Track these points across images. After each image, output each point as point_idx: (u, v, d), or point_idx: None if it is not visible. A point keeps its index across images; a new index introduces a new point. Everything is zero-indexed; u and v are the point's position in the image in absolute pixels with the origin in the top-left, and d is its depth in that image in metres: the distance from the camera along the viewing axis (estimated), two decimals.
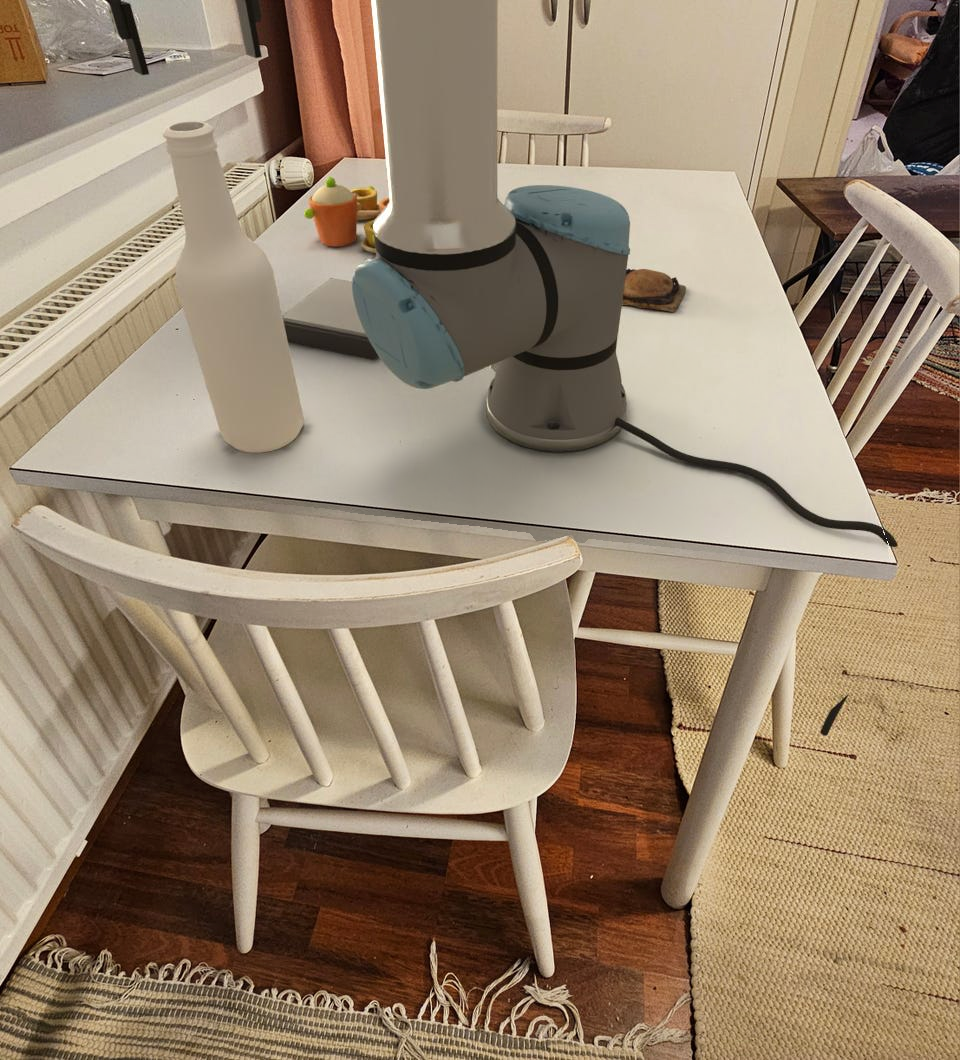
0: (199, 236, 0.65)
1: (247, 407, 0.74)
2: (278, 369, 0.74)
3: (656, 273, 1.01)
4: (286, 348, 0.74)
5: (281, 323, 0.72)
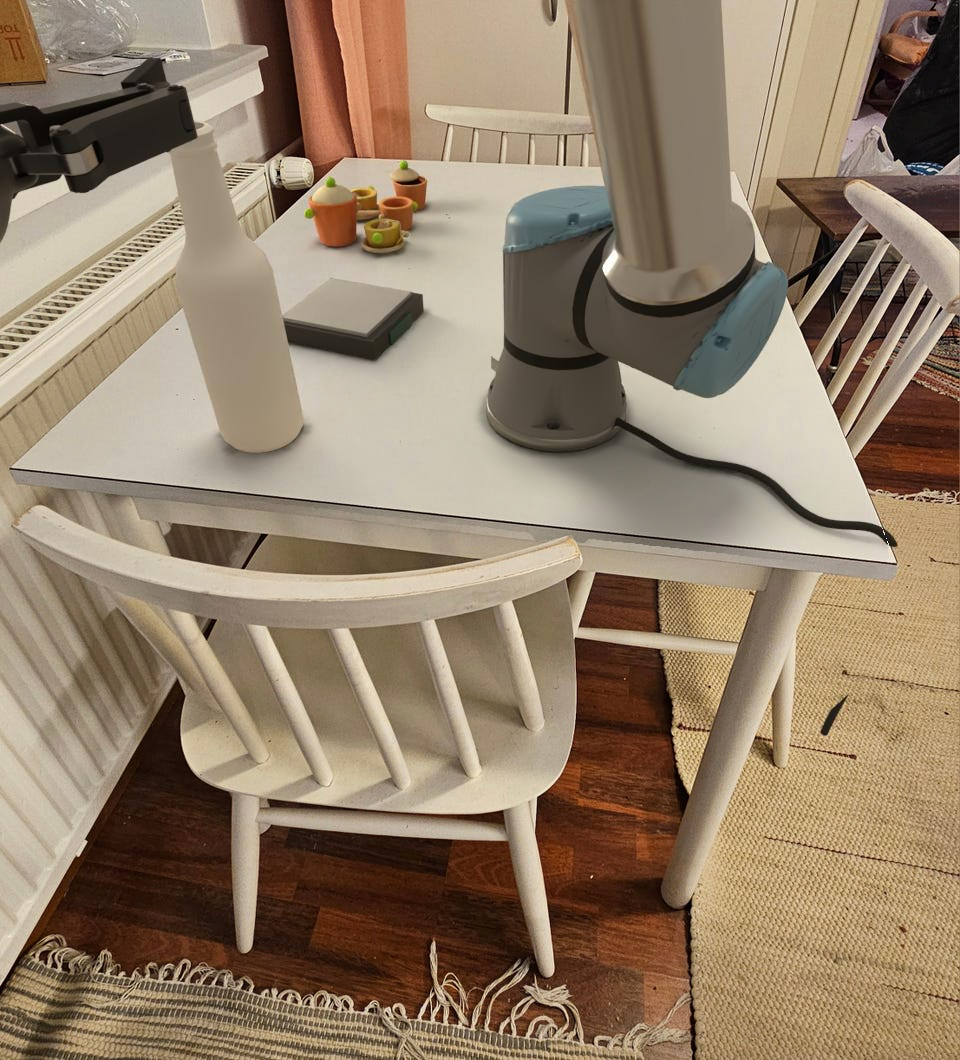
0: (199, 236, 0.65)
1: (247, 407, 0.74)
2: (278, 369, 0.73)
3: None
4: (286, 348, 0.74)
5: (281, 323, 0.72)
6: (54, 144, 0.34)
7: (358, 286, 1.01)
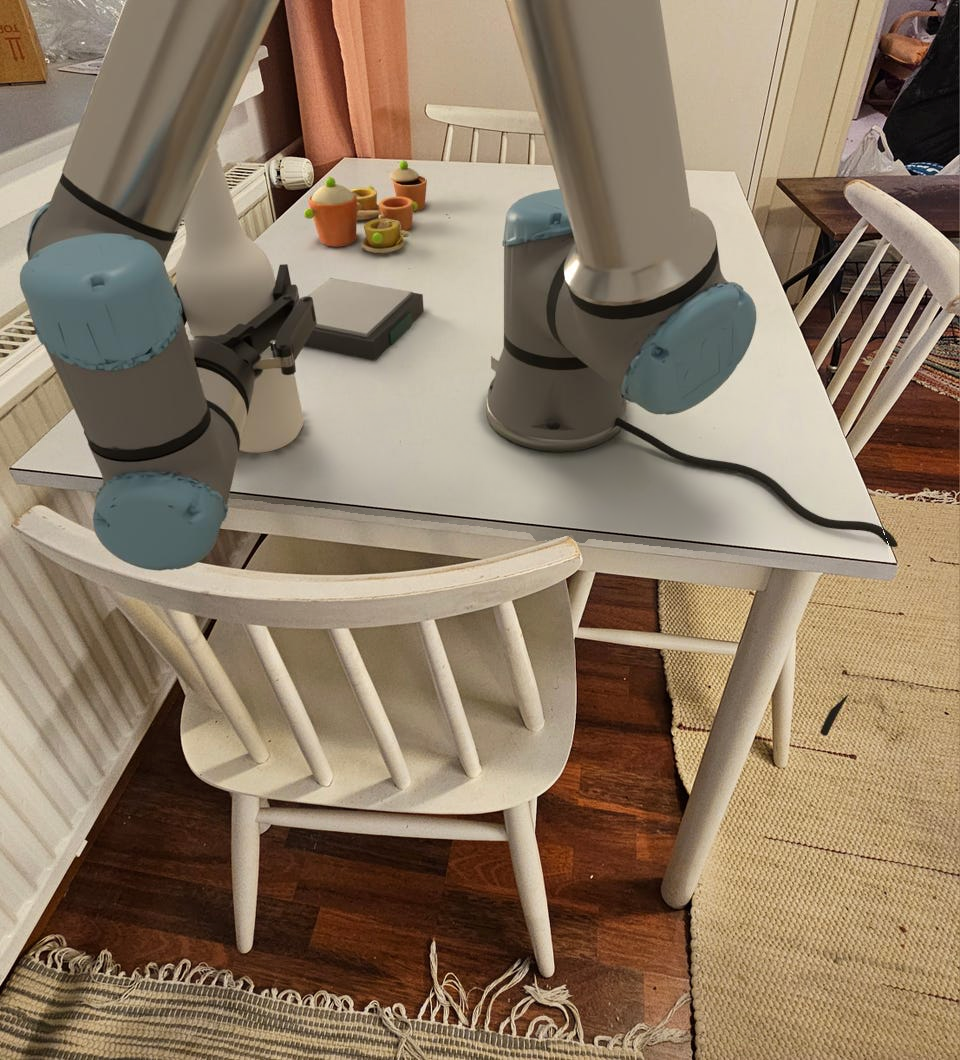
0: (199, 236, 0.65)
1: None
2: (278, 369, 0.74)
3: None
4: None
5: None
6: (280, 353, 0.62)
7: (358, 286, 1.01)
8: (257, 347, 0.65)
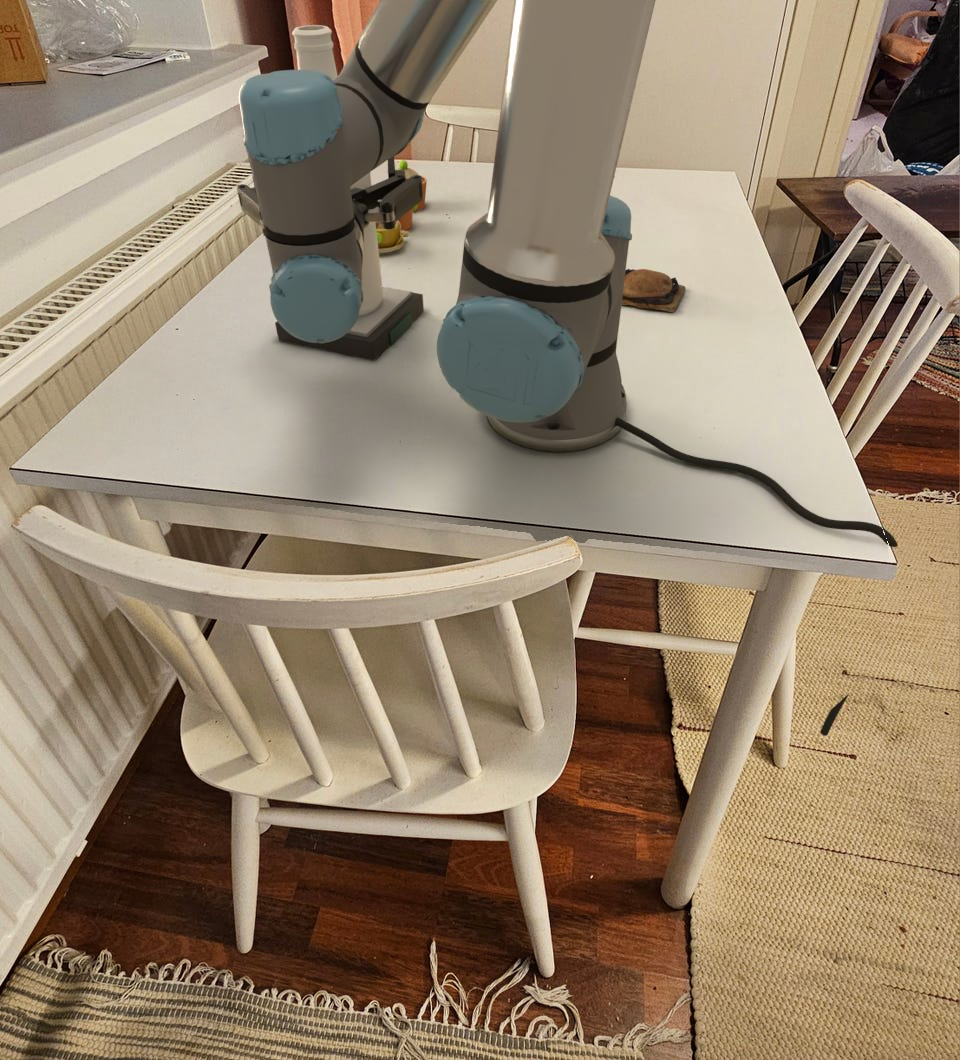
0: None
1: None
2: (369, 242, 0.89)
3: (655, 273, 1.01)
4: (374, 225, 0.90)
5: None
6: (383, 208, 0.77)
7: None
8: (367, 209, 0.80)
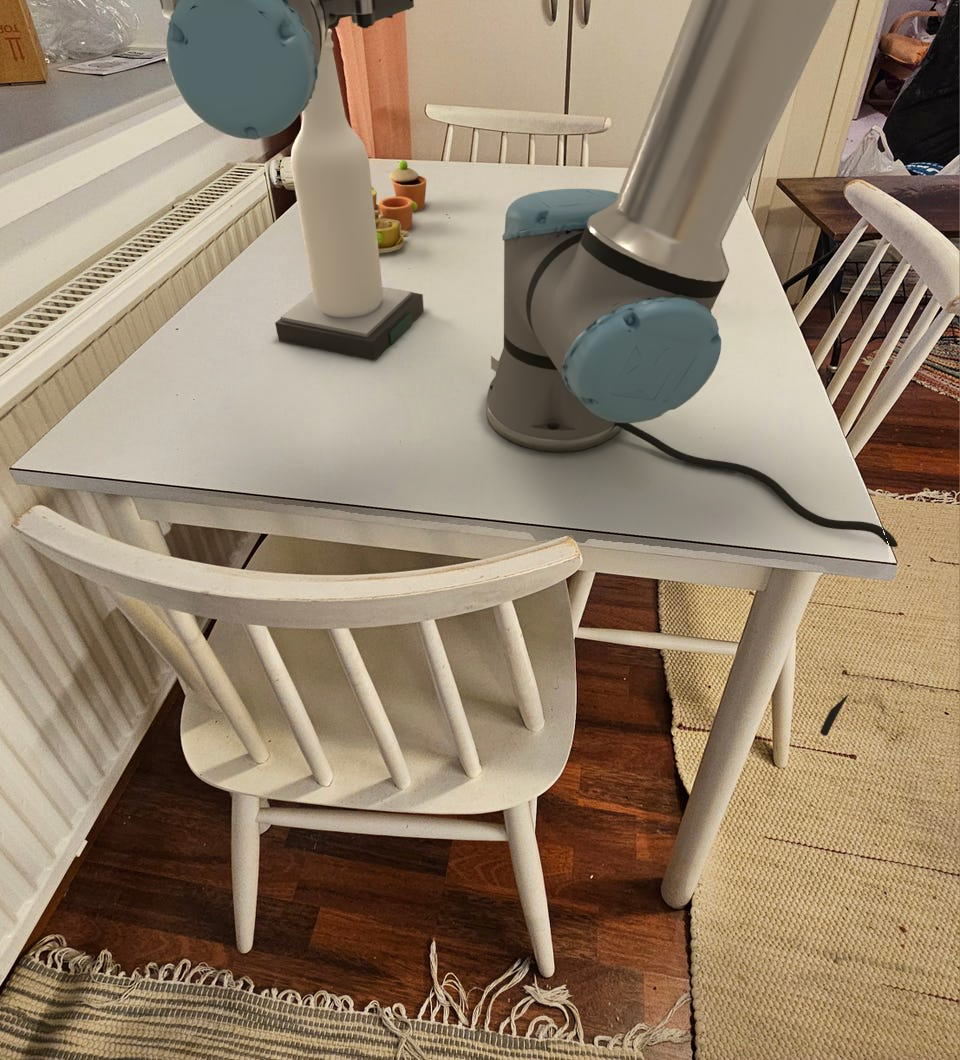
0: (315, 121, 0.80)
1: (343, 273, 0.90)
2: (369, 242, 0.89)
3: None
4: (374, 225, 0.90)
5: (372, 202, 0.88)
6: None
7: None
8: None
